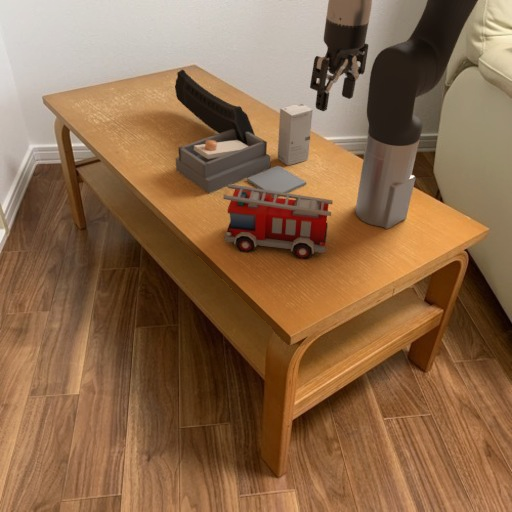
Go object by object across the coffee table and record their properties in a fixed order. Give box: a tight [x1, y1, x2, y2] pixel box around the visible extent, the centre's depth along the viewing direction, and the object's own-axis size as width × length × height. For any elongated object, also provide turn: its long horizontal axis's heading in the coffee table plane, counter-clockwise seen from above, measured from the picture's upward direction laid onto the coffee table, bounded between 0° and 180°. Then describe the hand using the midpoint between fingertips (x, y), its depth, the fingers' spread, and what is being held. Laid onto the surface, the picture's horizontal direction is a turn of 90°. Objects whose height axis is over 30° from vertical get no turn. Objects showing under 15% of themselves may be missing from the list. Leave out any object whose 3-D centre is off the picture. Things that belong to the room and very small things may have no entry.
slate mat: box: [246, 165, 307, 198], centre depth 118 cm, size 9×9×1 cm
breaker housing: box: [174, 129, 272, 194], centre depth 121 cm, size 17×12×6 cm
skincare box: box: [277, 103, 313, 166], centre depth 123 cm, size 6×4×12 cm
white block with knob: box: [194, 140, 249, 159], centre depth 119 cm, size 12×5×2 cm, turn 130°
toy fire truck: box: [222, 184, 334, 260], centre depth 99 cm, size 9×19×10 cm, turn 81°
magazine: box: [174, 69, 256, 145], centre depth 132 cm, size 17×3×30 cm
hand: (334, 103), depth 108 cm, fingers open, 8 cm apart
